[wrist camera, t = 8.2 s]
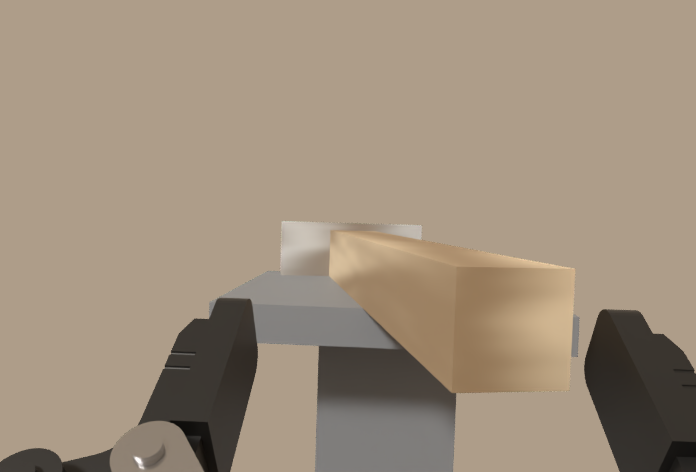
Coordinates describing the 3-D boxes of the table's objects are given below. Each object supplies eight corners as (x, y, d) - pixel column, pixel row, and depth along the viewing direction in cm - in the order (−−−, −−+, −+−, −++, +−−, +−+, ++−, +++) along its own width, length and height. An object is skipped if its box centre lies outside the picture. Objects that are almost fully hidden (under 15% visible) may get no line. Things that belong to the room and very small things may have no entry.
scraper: (320, 395, 11) (325, 243, 11) (280, 273, 33) (281, 221, 33) (683, 389, 13) (691, 253, 13) (415, 275, 34) (417, 225, 34)
